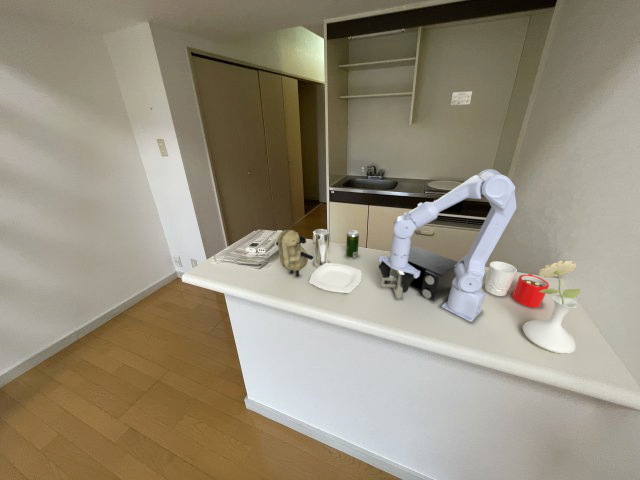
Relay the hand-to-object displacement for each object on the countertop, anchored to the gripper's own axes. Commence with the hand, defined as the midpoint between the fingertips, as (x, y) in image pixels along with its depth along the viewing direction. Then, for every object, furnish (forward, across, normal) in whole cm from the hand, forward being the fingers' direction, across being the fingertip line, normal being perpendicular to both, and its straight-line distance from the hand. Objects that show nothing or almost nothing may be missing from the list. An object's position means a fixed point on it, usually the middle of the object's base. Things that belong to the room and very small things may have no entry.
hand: (395, 286), depth 89 cm
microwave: (+4, -2, -14) cm, 15 cm away
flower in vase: (+4, -40, -13) cm, 42 cm away
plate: (+4, +21, +8) cm, 23 cm away
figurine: (+4, +35, +18) cm, 40 cm away
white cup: (+5, -23, -30) cm, 38 cm away
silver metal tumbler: (+4, +35, +4) cm, 35 cm away
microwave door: (+4, +4, -2) cm, 6 cm away
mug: (+5, -31, -33) cm, 46 cm away
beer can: (+4, +30, -11) cm, 32 cm away
